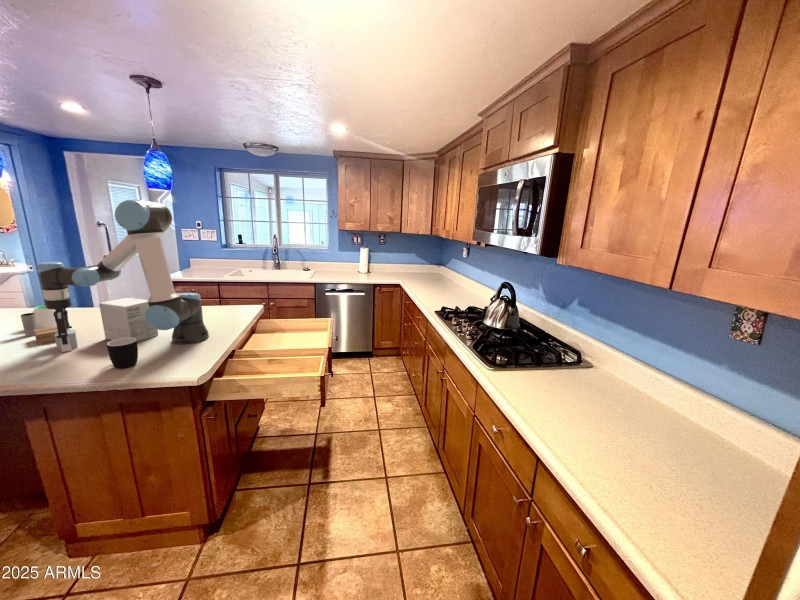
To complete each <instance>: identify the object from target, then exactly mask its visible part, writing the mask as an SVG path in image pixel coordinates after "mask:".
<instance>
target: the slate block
mask: <svg viewBox="0 0 800 600" xmlns="http://www.w3.org/2000/svg"><path fill="white" fill-rule="evenodd" d="M67 334H68V336H69V340H70V345H71V350H72V349H78V348H79V342H78V339H77V338H78V337H77V333H76V329H70V330H67ZM54 336H55V341H56V342H55V345H56V349H57V352H62V348H61V343H60V339H59V338H57V336H58V332H55V335H54Z"/></svg>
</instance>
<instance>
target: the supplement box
mask: <svg viewBox="0 0 800 600" xmlns="http://www.w3.org/2000/svg"><path fill="white" fill-rule="evenodd" d="M148 300H149V299H144V298H143V299H142V298H133V297H124V298H119V299H118V298H117V299H113V300H108V301H102V302H99V303H98V305H99V311H100V315H101V323H102V328H103V332H104V337H105V339H106V340H110V341H113V340H116V339H121V338H135V339H137V343H138V342H140V341H145V340H148V339H151V338H154V337H158V336H159V330H158V329H156V328H154V327H152V326H151V325H149V323H148V322H147V320H146V318H145V313H146V311H147V309H148V308H149V304H148Z"/></svg>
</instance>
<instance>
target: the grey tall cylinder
mask: <svg viewBox="0 0 800 600" xmlns="http://www.w3.org/2000/svg"><path fill="white" fill-rule="evenodd" d="M20 319H21V322H22V327H23V332H24V335H25V337H35V333H34V330H37V329H40V328H38V323H37V319H36V315H35V313H29V312H26V313H22V314H20Z"/></svg>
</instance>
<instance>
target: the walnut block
mask: <svg viewBox="0 0 800 600" xmlns="http://www.w3.org/2000/svg"><path fill="white" fill-rule="evenodd" d="M55 332H58V330H57V327H50V328H44V329H41V328H39V329H37V330H34V333H35V336H34V337H35V341H36V343H37V344H38V346H39V345H44V344H46V345H47V344H50V343H52V344H53V343H56V341H55V336H54V335H55Z"/></svg>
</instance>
